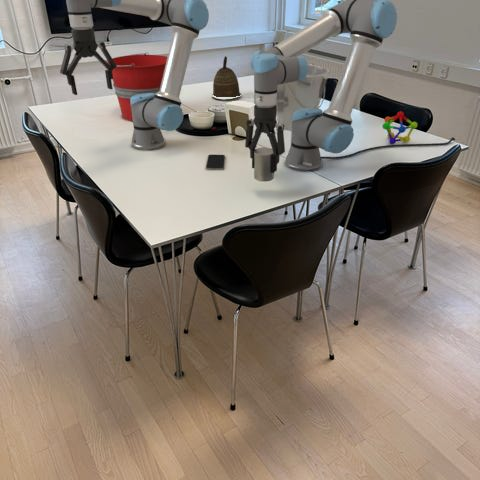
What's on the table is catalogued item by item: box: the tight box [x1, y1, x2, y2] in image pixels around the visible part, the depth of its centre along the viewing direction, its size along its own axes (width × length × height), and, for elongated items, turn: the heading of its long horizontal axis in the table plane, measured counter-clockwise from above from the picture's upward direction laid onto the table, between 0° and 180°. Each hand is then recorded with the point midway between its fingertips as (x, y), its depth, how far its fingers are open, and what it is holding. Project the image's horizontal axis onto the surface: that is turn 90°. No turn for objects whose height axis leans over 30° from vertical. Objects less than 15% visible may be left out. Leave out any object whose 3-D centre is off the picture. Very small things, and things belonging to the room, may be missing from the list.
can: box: [253, 146, 275, 182], centre depth 157 cm, size 7×7×10 cm
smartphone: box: [205, 154, 226, 170], centre depth 188 cm, size 7×1×15 cm
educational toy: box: [382, 110, 418, 145], centre depth 207 cm, size 16×13×15 cm
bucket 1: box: [105, 52, 168, 122], centre depth 240 cm, size 35×35×30 cm
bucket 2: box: [276, 64, 330, 131], centre depth 226 cm, size 30×30×28 cm
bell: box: [212, 56, 242, 97], centre depth 278 cm, size 19×26×20 cm
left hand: (92, 91), depth 163 cm, fingers open, 13 cm apart
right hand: (264, 169), depth 158 cm, fingers closed on can, 7 cm apart
